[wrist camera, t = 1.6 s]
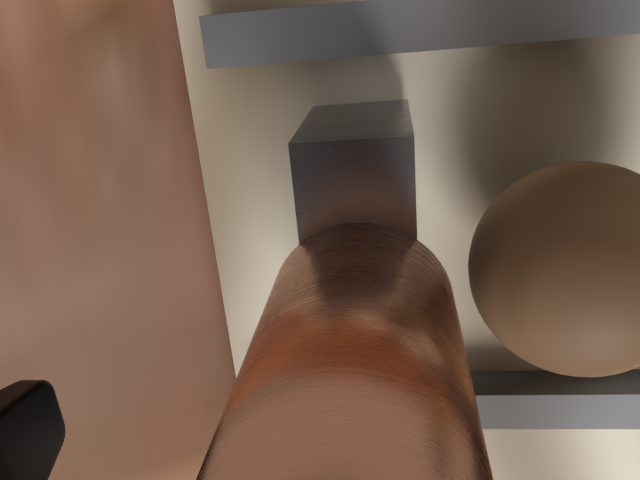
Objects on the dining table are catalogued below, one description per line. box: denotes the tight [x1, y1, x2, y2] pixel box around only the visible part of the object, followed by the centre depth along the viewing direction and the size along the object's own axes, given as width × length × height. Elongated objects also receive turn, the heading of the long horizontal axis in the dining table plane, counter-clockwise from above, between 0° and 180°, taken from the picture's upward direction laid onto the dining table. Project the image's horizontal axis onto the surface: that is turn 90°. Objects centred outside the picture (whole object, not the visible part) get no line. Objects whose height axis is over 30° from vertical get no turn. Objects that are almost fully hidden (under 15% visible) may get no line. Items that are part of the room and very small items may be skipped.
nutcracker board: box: [173, 0, 640, 480], centre depth 12 cm, size 16×16×6 cm
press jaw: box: [196, 99, 493, 480], centre depth 9 cm, size 3×6×10 cm, turn 5°
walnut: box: [468, 161, 640, 377], centre depth 11 cm, size 4×4×4 cm
